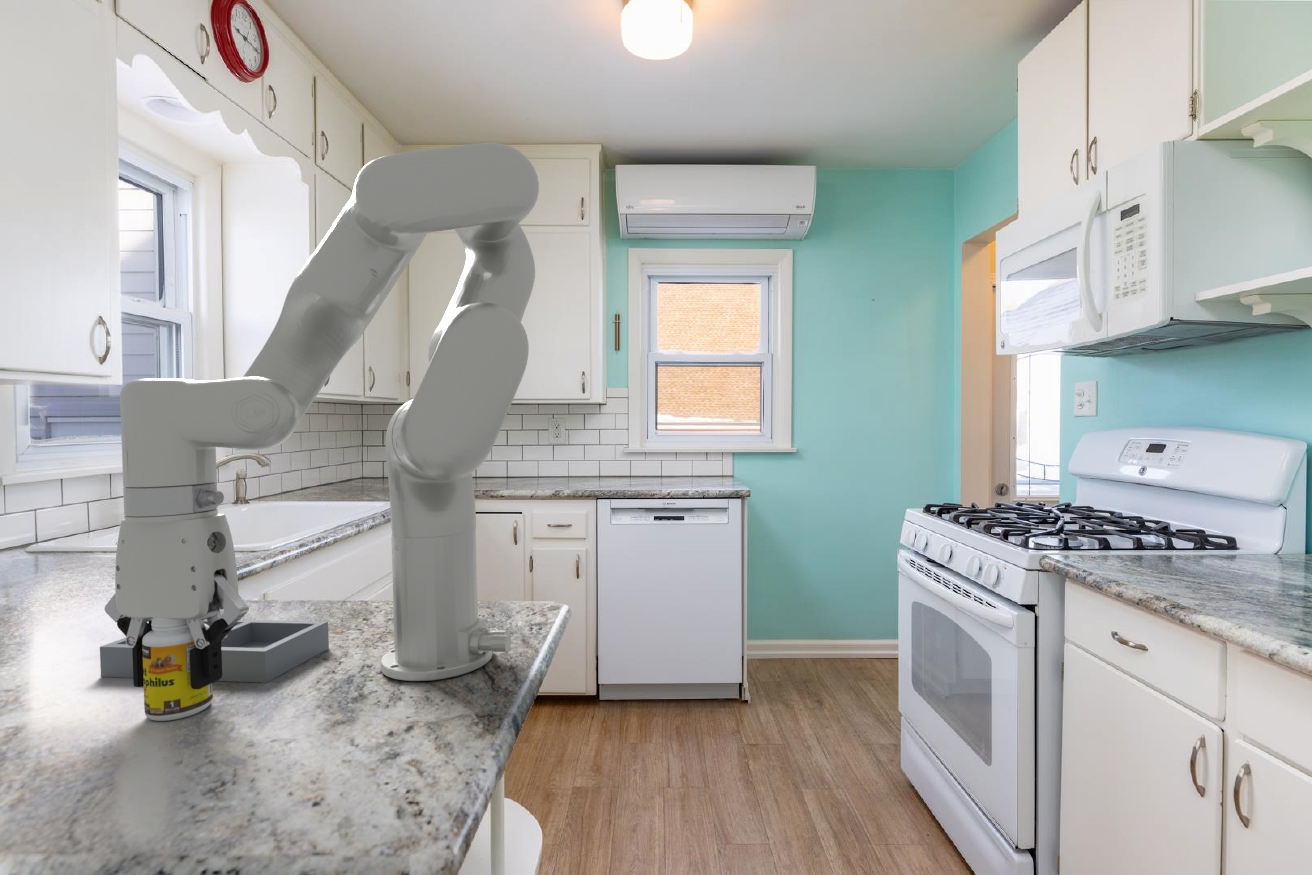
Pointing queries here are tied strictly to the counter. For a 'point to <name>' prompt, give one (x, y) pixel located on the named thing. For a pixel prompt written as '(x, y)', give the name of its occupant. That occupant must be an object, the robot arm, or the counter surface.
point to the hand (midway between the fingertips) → (178, 681)
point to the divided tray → (243, 650)
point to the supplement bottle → (170, 672)
